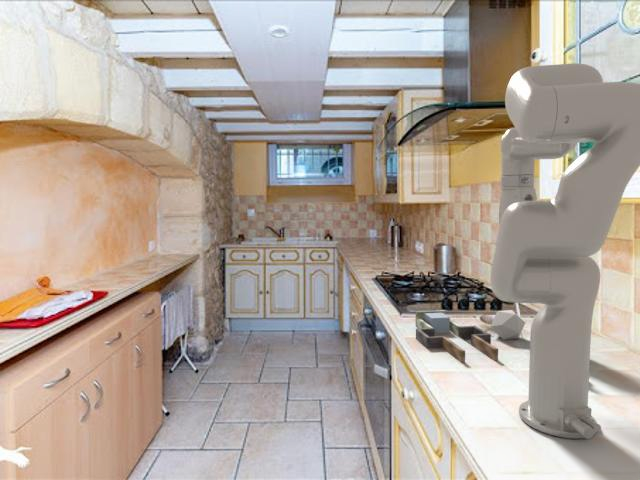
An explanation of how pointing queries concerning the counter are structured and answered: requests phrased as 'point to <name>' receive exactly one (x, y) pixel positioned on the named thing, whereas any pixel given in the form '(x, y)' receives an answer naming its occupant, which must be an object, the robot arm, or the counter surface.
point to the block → (438, 322)
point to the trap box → (467, 333)
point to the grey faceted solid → (507, 324)
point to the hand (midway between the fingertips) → (515, 255)
